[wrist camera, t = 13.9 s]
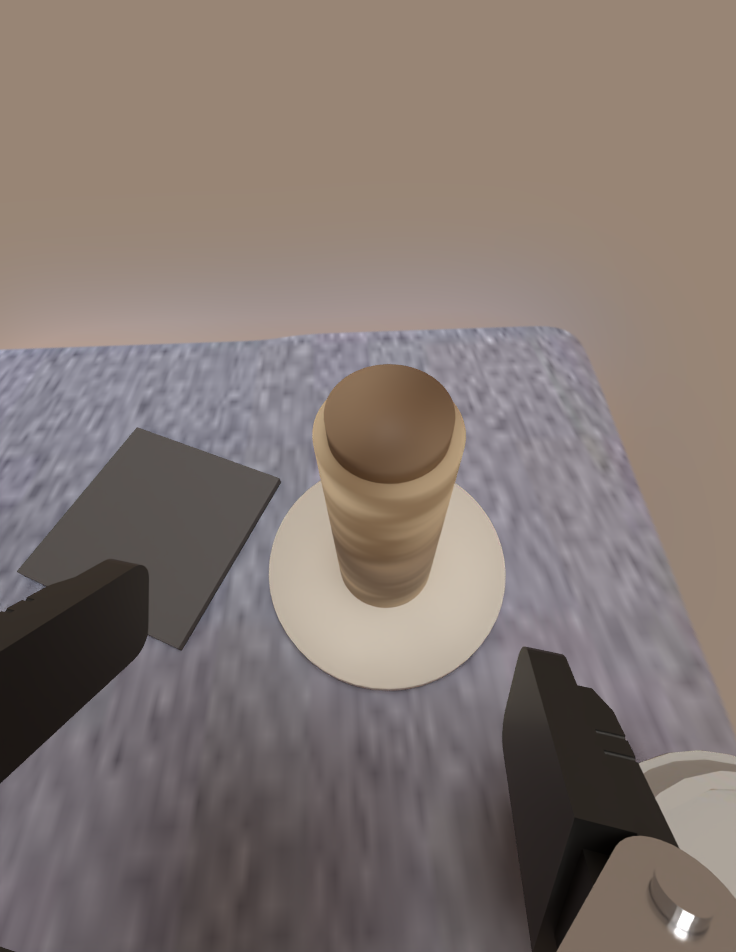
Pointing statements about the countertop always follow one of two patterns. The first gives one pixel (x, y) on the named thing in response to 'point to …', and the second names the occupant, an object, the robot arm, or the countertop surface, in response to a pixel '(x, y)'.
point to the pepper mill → (387, 477)
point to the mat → (160, 526)
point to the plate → (387, 629)
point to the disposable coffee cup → (699, 806)
